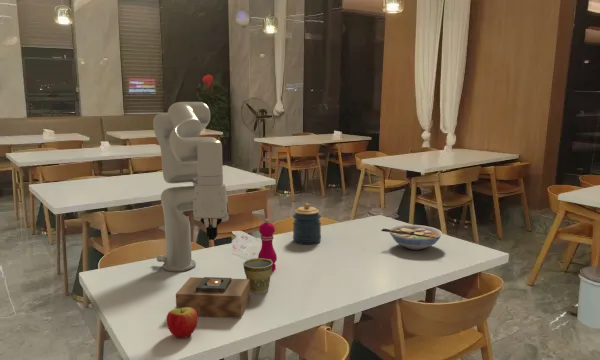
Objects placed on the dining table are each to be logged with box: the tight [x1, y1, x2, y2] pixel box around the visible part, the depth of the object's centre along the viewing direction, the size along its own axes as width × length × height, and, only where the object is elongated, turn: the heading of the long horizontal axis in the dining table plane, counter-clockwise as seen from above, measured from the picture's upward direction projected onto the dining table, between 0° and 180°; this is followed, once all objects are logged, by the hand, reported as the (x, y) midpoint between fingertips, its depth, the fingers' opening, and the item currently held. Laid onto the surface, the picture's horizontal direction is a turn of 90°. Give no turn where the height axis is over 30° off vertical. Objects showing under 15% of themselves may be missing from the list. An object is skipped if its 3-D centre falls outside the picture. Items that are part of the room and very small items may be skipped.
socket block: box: [175, 276, 251, 319], centre depth 156 cm, size 20×14×8 cm
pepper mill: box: [257, 218, 278, 272], centre depth 190 cm, size 7×7×20 cm
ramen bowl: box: [380, 224, 443, 251], centre depth 217 cm, size 25×23×8 cm
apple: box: [166, 304, 199, 339], centre depth 138 cm, size 8×8×10 cm
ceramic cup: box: [242, 257, 273, 295], centre depth 171 cm, size 13×10×10 cm
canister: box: [292, 203, 322, 245], centre depth 227 cm, size 13×13×18 cm
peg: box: [207, 279, 221, 286], centre depth 156 cm, size 4×4×8 cm
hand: (212, 238), depth 153 cm, fingers closed
